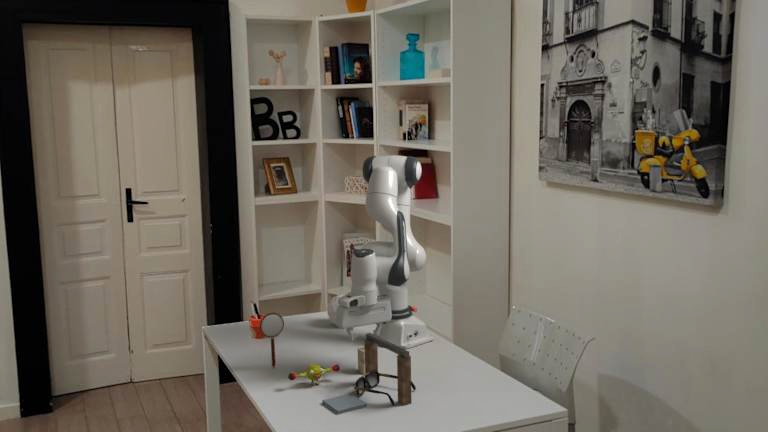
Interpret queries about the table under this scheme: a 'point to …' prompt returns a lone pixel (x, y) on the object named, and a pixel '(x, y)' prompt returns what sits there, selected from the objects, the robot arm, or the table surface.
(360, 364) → the block
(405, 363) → the rod stand
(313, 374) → the toy figure
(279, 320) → the magnifying glass
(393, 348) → the rod
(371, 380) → the sunglasses
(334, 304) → the geodesic sphere
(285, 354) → the table surface
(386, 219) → the robot arm
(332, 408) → the pad
